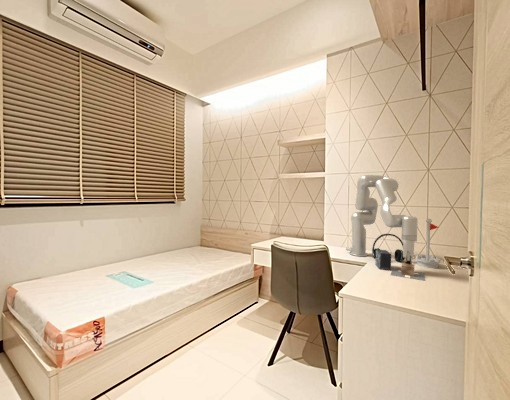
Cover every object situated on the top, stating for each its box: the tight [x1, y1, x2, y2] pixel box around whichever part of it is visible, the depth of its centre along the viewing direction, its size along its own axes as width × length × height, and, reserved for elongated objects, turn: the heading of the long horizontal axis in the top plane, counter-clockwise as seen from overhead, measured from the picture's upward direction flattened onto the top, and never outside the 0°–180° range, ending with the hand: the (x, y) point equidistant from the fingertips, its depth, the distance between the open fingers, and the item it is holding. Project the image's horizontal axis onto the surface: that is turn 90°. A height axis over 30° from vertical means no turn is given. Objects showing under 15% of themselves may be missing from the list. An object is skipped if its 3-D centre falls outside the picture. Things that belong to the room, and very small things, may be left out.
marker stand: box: [414, 218, 441, 269], centre depth 160 cm, size 13×13×30 cm
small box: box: [374, 248, 392, 271], centre depth 152 cm, size 11×6×10 cm, turn 168°
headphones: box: [371, 233, 406, 262], centre depth 170 cm, size 20×7×18 cm, turn 81°
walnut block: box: [400, 262, 415, 276], centre depth 140 cm, size 6×6×5 cm
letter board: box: [390, 267, 426, 282], centre depth 140 cm, size 16×16×1 cm
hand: (408, 269), depth 145 cm, fingers closed
